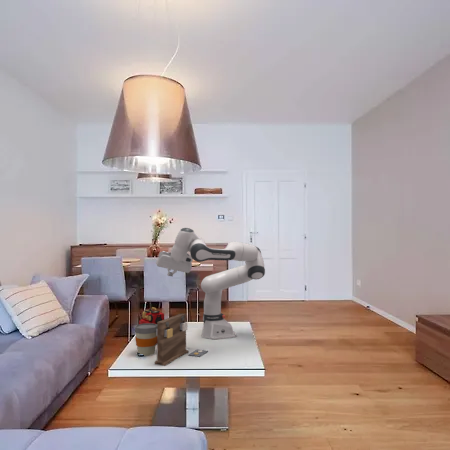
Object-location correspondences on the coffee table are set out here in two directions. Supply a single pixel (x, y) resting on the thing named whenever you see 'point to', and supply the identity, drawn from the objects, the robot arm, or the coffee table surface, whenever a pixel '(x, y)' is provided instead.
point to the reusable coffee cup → (146, 338)
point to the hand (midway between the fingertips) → (169, 275)
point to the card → (198, 353)
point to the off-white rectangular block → (183, 326)
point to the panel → (171, 340)
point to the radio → (151, 316)
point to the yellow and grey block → (167, 332)
